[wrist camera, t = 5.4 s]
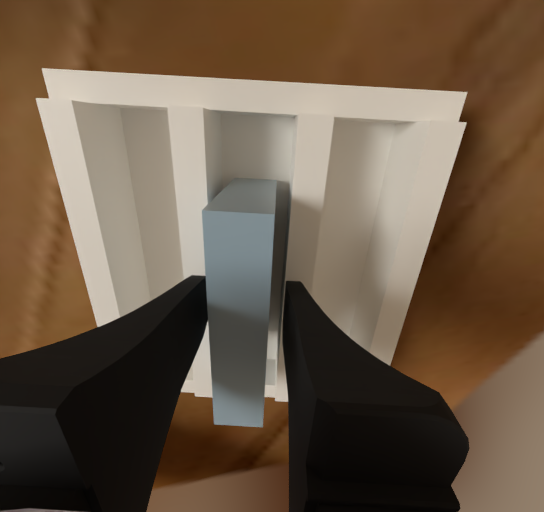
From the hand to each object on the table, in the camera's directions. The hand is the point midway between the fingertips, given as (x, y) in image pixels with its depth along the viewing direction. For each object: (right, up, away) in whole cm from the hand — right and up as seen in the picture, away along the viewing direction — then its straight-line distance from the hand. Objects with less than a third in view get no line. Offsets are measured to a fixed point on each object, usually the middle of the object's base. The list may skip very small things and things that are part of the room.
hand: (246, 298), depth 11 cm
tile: (0, +1, +3) cm, 4 cm away
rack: (0, +2, +4) cm, 5 cm away
